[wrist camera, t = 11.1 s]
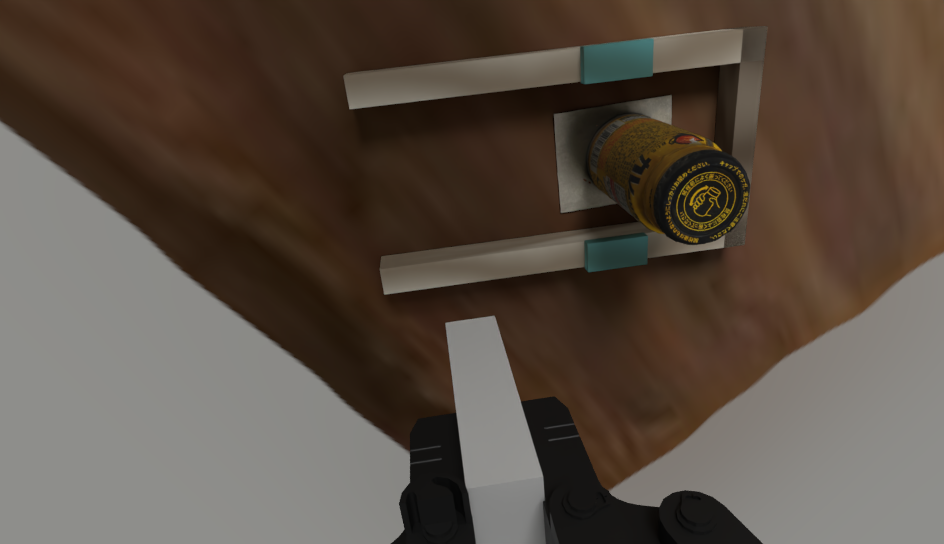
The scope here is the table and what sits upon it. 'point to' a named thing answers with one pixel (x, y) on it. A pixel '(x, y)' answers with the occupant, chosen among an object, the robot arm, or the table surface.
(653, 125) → the condiment
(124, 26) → the table surface
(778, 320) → the table surface
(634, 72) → the rail track
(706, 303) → the table surface
